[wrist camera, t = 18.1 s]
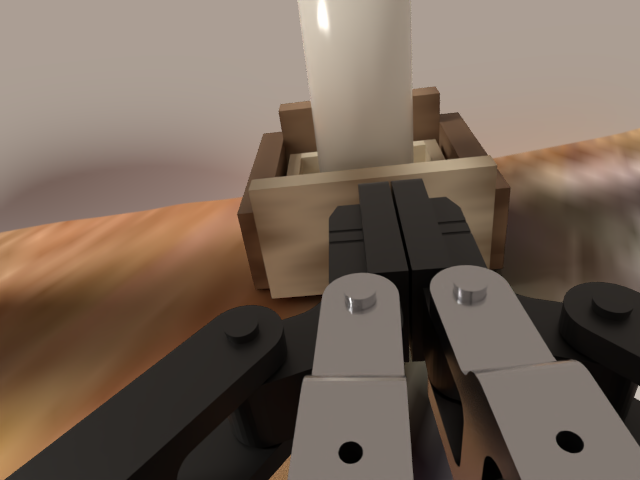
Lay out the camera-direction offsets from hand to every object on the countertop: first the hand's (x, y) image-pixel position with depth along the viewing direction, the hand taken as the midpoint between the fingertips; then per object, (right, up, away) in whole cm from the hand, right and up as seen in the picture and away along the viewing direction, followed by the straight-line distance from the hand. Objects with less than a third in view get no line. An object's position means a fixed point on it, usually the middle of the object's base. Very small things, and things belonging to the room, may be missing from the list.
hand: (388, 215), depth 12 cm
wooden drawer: (+2, 0, +19) cm, 19 cm away
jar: (+1, +1, +18) cm, 18 cm away
